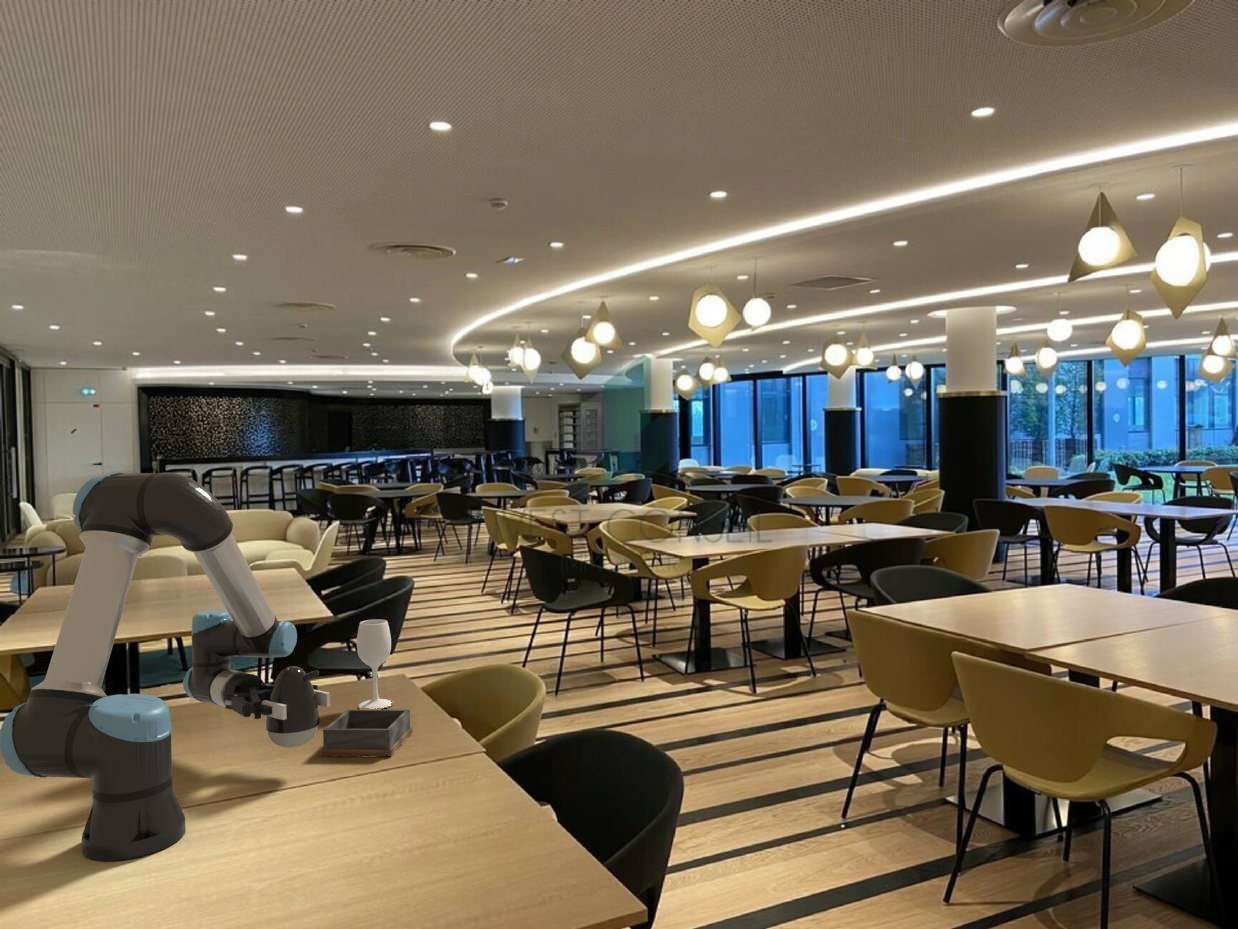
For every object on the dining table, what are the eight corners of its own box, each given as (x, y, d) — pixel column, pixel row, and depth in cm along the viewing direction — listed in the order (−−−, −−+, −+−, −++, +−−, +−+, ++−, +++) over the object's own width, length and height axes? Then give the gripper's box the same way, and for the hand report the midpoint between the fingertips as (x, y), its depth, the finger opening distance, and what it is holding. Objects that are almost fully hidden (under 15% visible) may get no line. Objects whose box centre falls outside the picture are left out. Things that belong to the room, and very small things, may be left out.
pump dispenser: (310, 751, 173) (309, 672, 172) (257, 752, 173) (255, 673, 173) (328, 734, 183) (327, 660, 183) (278, 735, 183) (276, 661, 183)
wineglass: (398, 701, 227) (396, 618, 226) (386, 711, 218) (384, 625, 217) (365, 700, 227) (363, 618, 227) (351, 711, 219) (349, 625, 218)
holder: (391, 757, 186) (390, 730, 186) (320, 756, 187) (320, 730, 187) (412, 733, 201) (412, 709, 201) (347, 733, 202) (346, 709, 202)
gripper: (284, 696, 197) (352, 711, 184) (188, 722, 179) (257, 740, 166) (284, 662, 197) (352, 674, 184) (187, 684, 178) (256, 700, 166)
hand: (307, 706), depth 175 cm, fingers closed on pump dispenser, 9 cm apart
